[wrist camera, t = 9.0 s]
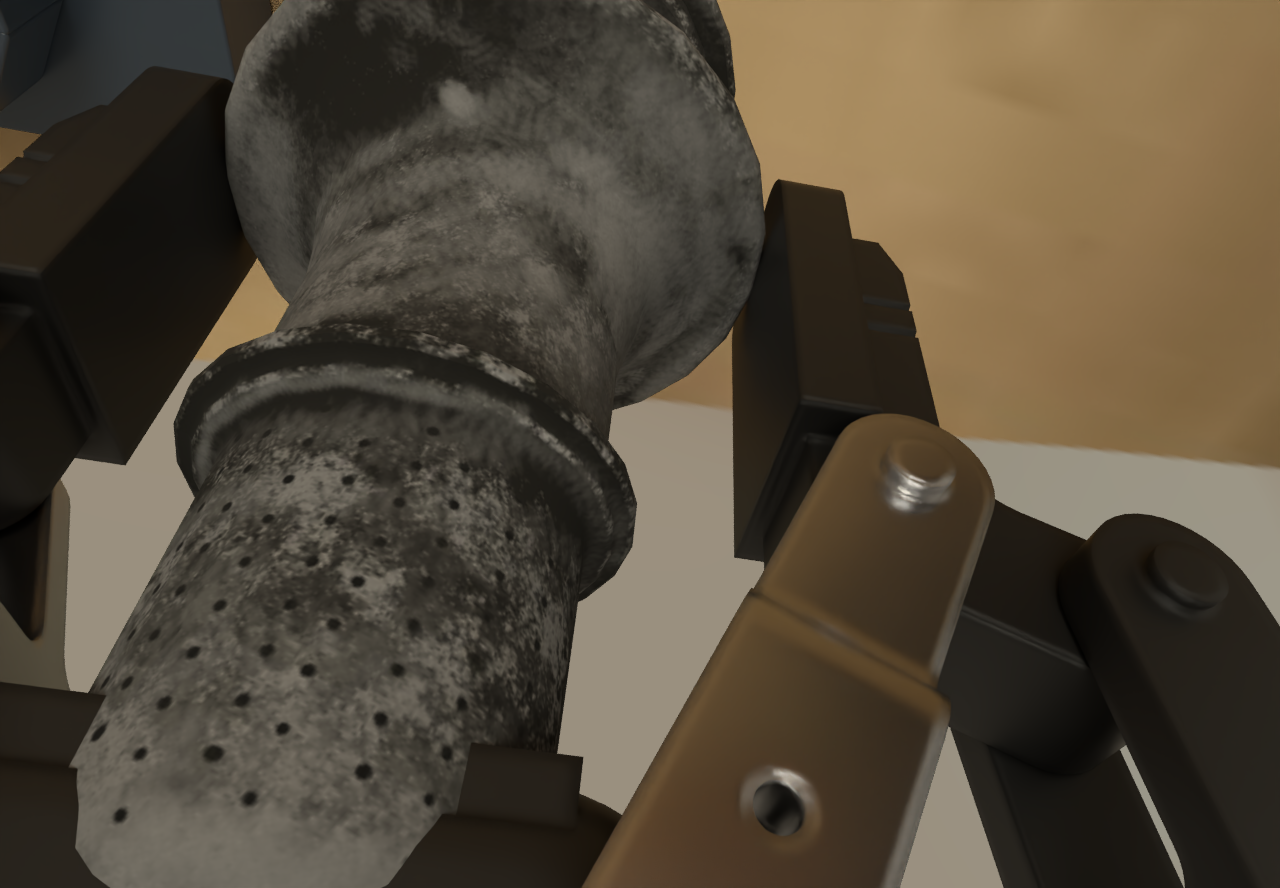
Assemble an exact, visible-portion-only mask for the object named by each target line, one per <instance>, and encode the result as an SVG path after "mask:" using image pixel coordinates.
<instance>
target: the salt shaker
mask: <svg viewBox="0 0 1280 888" xmlns="http://www.w3.org/2000/svg"><path fill="white" fill-rule="evenodd" d="M734 97H735V80H734V70H733V60H732V50H731V40H730V35H729V32H728V29H727V27H726V24H725V22H724V19H723V16H722V14H721V11H720V8H719V6H718V3H717V0H284V1H283V2H282V4H281V5H280V6H279V7H278V9H277V10H276V11H275V12H274V13H273V15H272V16H271V17H270V18H269V20H268V21H267V22H266V23H265V24H264V26H263V27H262V28H261V29H260V31H259V32H258V33H257V34H256V35H255V37H254V38H253V39H252V40H251V42H250V43H249V44H248V45H247V46H246V48H245V51H244V54H243V57H242V60H241V63H240V66H239V69H238V72H237V75H236V78H235V81H234V84H233V87H232V90H231V93H230V96H229V99H228V102H227V105H226V108H225V158H226V167H227V176H228V181H229V184H230V188H231V192H232V195H233V199H234V202H235V206H236V210H237V213H238V217H239V220H240V223H241V227H242V230H243V233H244V236H245V238H246V239H247V241H248V243H249V244H250V246H251V248H252V250H253V251H254V253H255V255H256V256H257V258H258V260H259V261H260V263H261V265H262V266H263V268H264V270H265V271H266V273H267V275H268V276H269V278H270V280H271V281H272V283H273V285H274V286H275V288H276V290H277V291H278V292H279V294H280V295H281V296H282V297H283V298H284V299H285V300H286V301H287V302H288V303H289V306H288V308H287V310H286V312H285V313H284V315H283V317H282V319H281V320H280V322H279V324H278V326H277V328H276V329H275V331H274V332H272V333H269V334H267V335H264V336H261V337H259V338H256V339H253V340H251V341H248V342H245V343H243V344H240V345H237V346H235V347H232V348H229V349H227V350H226V351H225V352H224V353H223V354H222V355H220V356H219V357H218V358H217V359H216V360H215V361H214V362H212V363H211V364H210V365H209V366H208V367H207V368H206V369H204V370H203V371H202V372H201V373H200V374H199V375H198V376H196V377H195V378H194V379H193V381H192V383H191V384H190V386H189V387H188V390H187V392H186V395H185V397H184V399H183V402H182V404H181V406H180V409H179V411H178V414H177V416H176V419H175V421H174V434H175V446H176V457H177V463H178V465H179V467H180V469H181V471H182V473H183V475H184V477H185V479H186V481H187V483H188V485H189V487H190V489H191V491H192V493H193V495H194V497H195V499H194V501H193V502H192V504H191V506H190V508H189V510H188V512H187V514H186V515H185V517H184V519H183V521H182V522H181V524H180V526H179V528H178V530H177V532H176V534H175V535H174V537H173V539H172V541H171V543H170V545H169V546H168V548H167V550H166V552H165V554H164V555H163V557H162V559H161V561H160V563H159V565H158V566H157V568H156V570H155V572H154V574H153V576H152V577H151V579H150V581H149V583H148V585H147V586H146V588H145V590H144V592H143V594H142V596H141V597H140V599H139V601H138V603H137V605H136V607H135V608H134V610H133V612H132V614H131V616H130V618H129V620H128V621H127V623H126V625H125V627H124V629H123V630H122V632H121V634H120V636H119V638H118V639H117V641H116V643H115V645H114V647H113V649H112V650H111V652H110V654H109V656H108V658H107V660H106V661H105V663H104V665H103V667H102V669H101V670H100V672H99V674H98V676H97V678H96V680H95V681H94V684H93V685H92V687H91V689H90V691H89V692H88V693H92V694H99V695H107V696H106V697H105V699H104V701H103V703H102V705H101V707H100V709H99V711H98V713H97V714H96V716H95V718H94V720H93V722H92V724H91V726H90V728H89V730H88V731H87V733H86V735H85V737H84V739H83V741H82V743H81V745H80V746H79V748H78V750H77V752H76V754H75V756H74V758H73V760H72V762H71V763H70V765H69V767H68V768H74V769H78V771H77V780H76V783H77V792H78V802H79V813H78V826H77V835H76V845H75V848H76V850H77V851H78V853H79V854H80V856H81V857H82V859H83V860H84V862H85V864H86V865H87V867H88V868H89V870H90V871H91V873H92V874H93V875H94V876H95V877H97V878H98V879H99V880H101V881H102V882H103V883H104V884H106V885H107V886H108V887H110V888H382V887H384V886H386V885H388V884H389V882H390V881H391V880H392V878H393V877H394V876H395V874H396V873H397V872H398V870H399V869H400V868H401V867H402V865H403V864H404V863H405V861H406V860H407V859H408V857H409V856H410V854H411V853H412V851H413V850H414V848H415V846H416V845H417V844H418V843H419V842H420V841H421V839H422V838H423V837H424V836H425V835H426V834H427V833H428V831H429V830H430V829H431V828H432V827H433V826H434V824H435V823H436V821H437V820H438V819H439V817H440V816H441V815H442V814H448V815H456V813H457V808H458V803H459V798H460V794H461V789H462V784H463V779H464V774H465V770H466V765H467V760H468V755H469V751H470V746H471V743H478V744H486V745H494V746H502V747H509V748H517V749H525V750H532V751H540V752H548V753H556V754H557V751H558V744H559V735H560V729H561V722H562V714H563V707H564V700H565V692H566V685H567V678H568V671H569V662H570V656H571V649H572V641H573V634H574V626H575V619H576V612H577V604H578V602H579V601H581V600H583V599H585V598H587V597H588V596H589V595H590V594H592V593H593V592H594V591H596V590H597V589H598V588H599V587H601V586H602V585H603V584H604V583H606V582H607V581H608V580H610V579H611V578H612V577H613V576H614V575H615V574H616V572H617V571H618V569H619V568H620V566H621V564H622V562H623V561H624V559H625V558H626V556H627V554H628V553H629V551H630V549H631V548H632V544H633V534H634V526H635V517H636V508H637V502H636V498H635V495H634V492H633V489H632V486H631V482H630V479H629V476H628V473H627V469H626V466H625V464H624V462H623V461H622V459H621V458H620V457H619V455H618V454H617V452H616V451H615V450H614V448H613V447H612V446H611V444H610V443H609V441H608V439H609V431H610V424H611V415H612V410H614V409H617V408H621V407H624V406H628V405H631V404H634V403H638V402H641V401H643V400H645V399H646V398H648V397H650V396H652V395H654V394H655V393H657V392H659V391H661V390H663V389H664V388H666V387H668V386H670V385H671V384H673V383H675V382H677V381H679V380H680V379H682V378H684V377H686V376H687V375H689V374H690V373H691V372H692V371H693V370H694V369H695V368H696V367H697V366H698V365H699V364H700V363H701V362H702V361H703V360H704V359H705V358H706V357H707V356H708V355H709V354H710V353H711V352H712V351H713V350H714V349H715V348H716V347H718V346H719V345H720V344H721V343H722V342H723V341H724V340H725V339H726V337H727V335H728V334H729V332H730V330H731V329H732V327H733V325H734V323H735V322H736V320H737V318H738V316H739V315H740V313H741V311H742V309H743V308H744V306H745V304H746V302H747V301H748V298H749V296H750V293H751V290H752V286H753V283H754V280H755V276H756V273H757V269H758V266H759V262H760V257H761V253H762V248H763V244H764V239H765V235H766V230H765V218H764V206H763V194H762V182H761V171H760V163H759V160H758V158H757V155H756V153H755V150H754V148H753V145H752V143H751V140H750V138H749V135H748V133H747V130H746V128H745V125H744V123H743V120H742V117H741V115H740V112H739V110H738V107H737V105H736V102H735V100H734Z"/></svg>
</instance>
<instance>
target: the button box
mask: <svg viewBox="0 0 1280 888" xmlns="http://www.w3.org/2000/svg"><path fill="white" fill-rule="evenodd" d="M271 16H272V13H271V7H270V0H0V127H2V128H8V129H13V130H19V131H25V132H31V133H37V134H43V133H45V132H46V131H47V130H48V129H49V128H50V127H51V126H52V125H54V124H56V123H58V122H60V121H63V120H65V119H67V118H70V117H72V116H75V115H77V114H79V113H82V112H84V111H86V110H89V109H91V108H93V107H96V106H98V105H100V104H101V105H106V106H107V105H108V104H110V103H111V102H112V101H113V100H114V99H115V98H116V97H117V96H118V95H119V94H120V93H121V92H122V91H123V90H125V89H126V88H127V87H128V86H129V85H130V84H131V83H132V82H133V81H134V80H135V79H136V78H137V77H138V76H139V75H141V74H142V73H143V72H144V71H145V70H146V69H148V68H149V67H152V66H159V67H165V68H170V69H176V70H182V71H187V72H193V73H198V74H204V75H209V76H215V77H220V78H226V79H228V80H230V81H231V82H232V83H233V84H234V81H235V78H236V75H237V72H238V69H239V66H240V63H241V60H242V57H243V54H244V51H245V48H246V46H247V45H248V44H249V43H250V42H251V40H252V39H253V38H254V37H255V35H256V34H257V33H258V32H259V31H260V29H261V28H262V27H263V26H264V24H265V23H266V22H267V21H268V20H269V18H270V17H271Z"/></svg>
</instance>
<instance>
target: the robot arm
mask: <svg viewBox="0 0 1280 888" xmlns="http://www.w3.org/2000/svg"><path fill="white" fill-rule="evenodd" d="M232 87H233V83H232V82H231V81H230V80H228V79H226V78H220V77H215V76H209V75H204V74H198V73H193V72H187V71H182V70H176V69H170V68H165V67H159V66H152V67H149V68H148V69H146V70H145V71H144V72H143V73H142V74H141V75H139V76H138V77H137V78H136V79H135V80H134V81H133V82H132V83H131V84H130V85H129V86H128V87H127V88H126V89H125V90H123V91H122V92H121V93H120V94H119V95H118V96H117V97H116V98H115V99H114V100H113V101H112V102H111V103H110V104H108V105H107V106H106V105H101V104H100V105H98V106H96V107H93V108H91V109H89V110H86V111H84V112H82V113H79V114H77V115H75V116H72V117H70V118H67V119H65V120H63V121H60V122H58V123H56V124H54V125H52V126H51V127H50V128H49V129H48V130H47V131H46V132H45V133H43V134H42V135H41V136H40V137H39V138H38V139H37V140H36V141H34V142H33V143H32V144H31V145H30V146H29V147H28V148H27V149H25V150H24V151H23V152H24V157H23V158H21V157H16V158H15V159H14V160H13V161H12V162H11V163H10V164H9V165H7V166H6V167H5V168H4V169H3V170H2V171H1V172H0V888H110V887H108V886H107V885H106V884H104V883H103V882H102V881H101V880H99V879H98V878H97V877H95V876H94V875H93V874H92V873H91V871H90V870H89V868H88V867H87V865H86V864H85V862H84V860H83V859H82V857H81V856H80V854H79V853H78V851H77V850H76V848H75V845H76V835H77V826H78V813H79V802H78V792H77V783H76V780H77V771H78V769H74V768H68V767H69V765H70V763H71V762H72V760H73V758H74V756H75V754H76V752H77V750H78V748H79V746H80V745H81V743H82V741H83V739H84V737H85V735H86V733H87V731H88V730H89V728H90V726H91V724H92V722H93V720H94V718H95V716H96V714H97V713H98V711H99V709H100V707H101V705H102V703H103V701H104V699H105V697H106V696H107V695H99V694H92V693H84V692H76V691H70V688H69V684H68V680H67V676H66V670H65V659H64V646H65V622H66V598H67V573H68V550H69V525H70V498H69V496H68V493H67V490H66V488H65V487H64V485H63V483H62V481H61V479H60V478H61V477H62V475H63V474H64V473H65V471H66V470H67V468H68V467H69V465H70V464H71V462H72V461H73V460H74V458H79V459H87V460H93V461H100V462H107V463H113V464H120V465H126V463H127V462H128V460H129V459H130V457H131V455H132V454H133V452H134V451H135V449H136V448H137V446H138V444H139V443H140V441H141V440H142V438H143V437H144V435H145V434H146V432H147V431H148V429H149V427H150V426H151V424H152V423H153V421H154V419H155V418H156V416H157V415H158V413H159V412H160V410H161V409H162V407H163V405H164V404H165V402H166V401H167V399H168V398H169V396H170V394H171V393H172V391H173V390H174V388H175V386H176V385H177V383H178V382H179V380H180V379H181V377H182V376H183V374H184V373H185V371H186V369H187V368H188V366H189V365H190V363H191V362H192V360H193V358H194V357H195V355H196V354H197V352H198V351H199V349H200V347H201V346H202V344H203V343H204V341H205V340H206V338H207V336H208V335H209V333H210V332H211V330H212V329H213V327H214V325H215V324H216V322H217V321H218V319H219V318H220V316H221V315H222V313H223V311H224V310H225V308H226V307H227V305H228V304H229V302H230V300H231V299H232V297H233V296H234V294H235V293H236V291H237V289H238V288H239V286H240V285H241V283H242V282H243V280H244V278H245V277H246V275H247V274H248V272H249V271H250V269H251V267H252V266H253V264H254V263H255V261H256V259H257V256H256V255H255V253H254V251H253V250H252V248H251V246H250V244H249V243H248V241H247V239H246V238H245V236H244V233H243V230H242V227H241V223H240V220H239V217H238V213H237V210H236V206H235V202H234V199H233V195H232V192H231V188H230V184H229V181H228V176H227V167H226V158H225V108H226V105H227V102H228V99H229V96H230V93H231V90H232ZM764 218H765V230H766V235H765V239H764V244H763V248H762V253H761V257H760V262H759V266H758V269H757V273H756V276H755V280H754V283H753V286H752V290H751V293H750V296H749V298H748V301H747V302H746V304H745V306H744V308H743V309H742V311H741V313H740V315H739V316H738V318H737V320H736V322H735V323H734V325H733V335H732V383H733V474H734V475H733V477H734V557H735V558H742V559H748V560H755V561H761V562H764V571H763V573H762V575H761V577H760V579H759V580H758V582H757V584H756V585H755V587H754V589H753V588H751V589H750V591H749V592H748V594H747V595H746V597H745V598H744V600H743V602H742V603H741V605H740V607H739V609H738V610H737V612H736V614H735V616H734V617H733V619H732V621H731V623H730V624H729V626H728V628H727V630H726V632H725V633H724V635H723V637H722V639H721V640H720V642H719V644H718V646H717V647H716V650H715V651H714V653H713V655H712V656H711V658H710V660H709V662H708V664H707V665H706V667H705V669H704V671H703V672H702V674H701V676H700V678H699V680H698V681H697V683H696V685H695V687H694V688H693V690H692V692H691V694H690V695H689V698H688V699H687V701H686V703H685V704H684V706H683V708H682V710H681V712H680V713H679V715H678V717H677V719H676V721H675V722H674V724H673V726H672V727H671V729H670V731H669V733H668V735H667V736H666V738H665V740H664V742H663V743H662V745H661V747H660V749H659V751H658V752H657V754H656V756H655V758H654V760H653V762H652V763H651V765H650V767H649V769H648V771H647V772H646V774H645V776H644V777H643V779H642V781H641V783H640V784H639V786H638V788H637V790H636V792H635V793H634V795H633V797H632V799H631V800H630V803H629V804H628V806H627V808H626V809H625V811H624V813H623V815H621V814H619V813H617V812H616V811H614V810H613V809H611V808H609V807H608V806H606V805H604V804H602V803H599V802H597V801H595V800H593V799H590V798H588V797H586V796H584V795H581V794H579V791H580V782H581V773H582V764H583V757H579V756H571V755H563V754H556V753H548V752H540V751H532V750H525V749H517V748H509V747H502V746H494V745H486V744H478V743H471V746H470V751H469V755H468V760H467V765H466V770H465V774H464V779H463V784H462V789H461V794H460V798H459V803H458V808H457V813H456V815H448V814H442V815H441V816H440V817H439V819H438V820H437V821H436V823H435V824H434V826H433V827H432V828H431V829H430V830H429V831H428V833H427V834H426V835H425V836H424V837H423V838H422V839H421V841H420V842H419V843H418V844H417V845H416V846H415V848H414V850H413V851H412V853H411V854H410V856H409V857H408V859H407V860H406V861H405V863H404V864H403V865H402V867H401V868H400V869H399V870H398V872H397V873H396V874H395V876H394V877H393V878H392V880H391V881H390V882H389V884H388V885H386V886H384V887H382V888H900V885H901V882H902V879H903V875H904V872H905V869H906V865H907V862H908V858H909V855H910V852H911V849H912V846H913V842H914V839H915V836H916V832H917V829H918V826H919V822H920V819H921V816H922V813H923V809H924V806H925V802H926V799H927V796H928V793H929V789H930V786H931V783H932V780H933V776H934V773H935V770H936V766H937V763H938V760H939V756H940V753H941V749H942V747H943V743H944V740H945V736H946V732H947V729H948V726H949V727H950V728H951V731H952V734H953V737H954V740H955V743H956V746H957V749H958V752H959V755H960V758H961V761H962V764H963V767H964V770H965V773H966V776H967V779H968V782H969V785H970V788H971V791H972V794H973V796H974V800H975V803H976V806H977V809H978V812H979V815H980V818H981V821H982V824H983V827H984V830H985V833H986V836H987V839H988V842H989V845H990V848H991V851H992V854H993V857H994V860H995V863H996V866H997V869H998V872H999V875H1000V878H1001V881H1002V884H1003V887H1004V888H1183V885H1182V883H1181V881H1180V879H1179V877H1178V874H1177V872H1176V870H1175V868H1174V866H1173V864H1172V862H1171V859H1170V857H1169V855H1168V853H1167V851H1166V849H1165V846H1164V844H1163V842H1162V840H1161V838H1160V835H1159V833H1158V831H1157V829H1156V827H1155V825H1154V823H1153V820H1152V818H1151V816H1150V814H1149V812H1148V810H1147V807H1146V805H1145V803H1144V801H1143V799H1142V797H1141V794H1140V792H1139V790H1138V788H1137V786H1136V784H1135V781H1134V779H1133V777H1132V775H1131V773H1130V771H1129V769H1128V766H1127V764H1126V762H1125V760H1124V758H1123V756H1122V753H1121V751H1120V749H1121V748H1122V747H1124V746H1125V745H1127V747H1128V750H1129V752H1130V754H1131V756H1132V758H1133V760H1134V762H1135V765H1136V766H1137V769H1138V771H1139V773H1140V775H1141V777H1142V779H1143V782H1144V784H1145V786H1146V788H1147V790H1148V792H1149V794H1150V796H1151V799H1152V801H1153V803H1154V805H1155V807H1156V809H1157V811H1158V814H1159V815H1160V818H1161V820H1162V822H1163V824H1164V826H1165V828H1166V830H1167V833H1168V835H1169V837H1170V839H1171V841H1172V843H1173V845H1174V848H1175V850H1176V852H1177V854H1178V857H1179V860H1180V863H1181V866H1182V870H1183V875H1184V881H1185V888H1280V626H1279V624H1278V623H1277V621H1276V620H1275V618H1274V617H1273V615H1272V614H1271V612H1270V611H1269V609H1268V608H1267V606H1266V605H1265V603H1264V601H1263V600H1262V598H1261V597H1260V595H1259V594H1258V592H1257V591H1256V589H1255V588H1254V586H1253V585H1252V583H1251V582H1250V580H1249V579H1248V578H1247V576H1246V575H1245V574H1244V573H1243V571H1242V570H1241V569H1240V568H1239V567H1238V566H1237V565H1236V564H1235V562H1233V560H1232V559H1231V558H1229V557H1228V556H1227V555H1226V554H1225V553H1224V552H1223V551H1222V550H1220V549H1219V548H1218V547H1216V546H1215V545H1214V544H1213V543H1211V542H1210V541H1208V540H1207V539H1206V538H1204V537H1202V536H1200V535H1199V534H1197V533H1195V532H1194V531H1192V530H1190V529H1188V528H1186V527H1184V526H1182V525H1180V524H1178V523H1175V522H1172V521H1170V520H1167V519H1164V518H1160V517H1156V516H1152V515H1144V514H1124V515H1120V516H1116V517H1113V518H1111V519H1109V520H1107V521H1105V522H1104V523H1103V524H1102V525H1101V526H1100V527H1099V528H1098V529H1097V530H1096V531H1095V532H1094V533H1093V534H1092V535H1091V536H1090V538H1089V539H1088V540H1085V539H1082V538H1080V537H1078V536H1075V535H1073V534H1071V533H1068V532H1066V531H1063V530H1061V529H1059V528H1056V527H1054V526H1051V525H1049V524H1046V523H1044V522H1042V521H1039V520H1037V519H1035V518H1032V517H1030V516H1027V515H1025V514H1022V513H1020V512H1018V511H1016V510H1014V509H1012V508H1010V507H1008V506H1006V505H1004V504H1002V503H1001V502H999V501H997V500H996V499H995V493H994V488H993V485H992V481H991V479H990V476H989V475H988V472H987V470H986V468H985V467H984V466H983V464H982V463H981V461H980V460H979V458H978V457H976V455H975V454H974V453H973V452H972V451H971V450H970V449H969V448H968V447H967V446H966V445H965V444H964V443H963V442H961V441H960V440H959V439H957V438H956V437H955V436H953V435H952V434H950V433H949V432H947V431H945V430H943V429H942V428H940V426H939V422H938V418H937V414H936V410H935V406H934V401H933V397H932V393H931V389H930V385H929V381H928V377H927V372H926V368H925V364H924V360H923V356H922V352H921V347H920V343H919V339H918V338H915V334H916V332H917V331H916V327H915V323H914V318H913V314H912V311H909V307H910V302H909V298H908V294H907V289H906V285H905V281H904V277H903V273H902V272H901V271H900V270H899V268H898V267H897V266H896V265H895V263H894V262H893V261H892V260H891V258H890V257H889V256H888V255H887V253H886V252H885V251H884V250H883V248H882V247H881V246H880V245H879V243H876V242H870V241H864V240H859V239H853V238H852V235H851V229H850V224H849V218H848V213H847V207H846V202H845V197H844V193H843V192H842V191H840V190H835V189H829V188H824V187H818V186H813V185H807V184H802V183H796V182H791V181H785V180H780V179H778V180H777V181H776V182H775V184H774V185H773V188H772V190H771V192H770V195H769V198H768V201H767V204H766V208H765V211H764Z"/></svg>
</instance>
